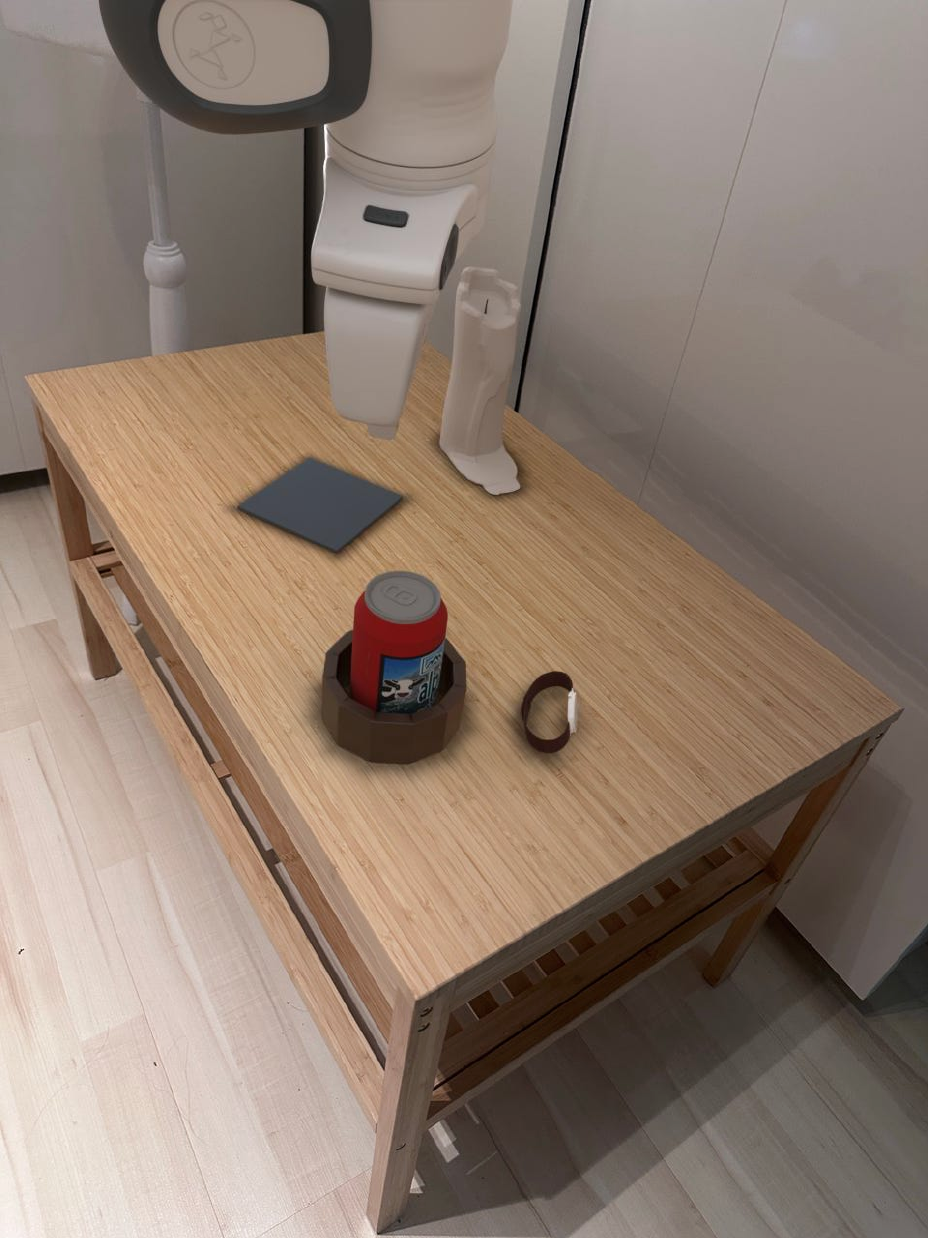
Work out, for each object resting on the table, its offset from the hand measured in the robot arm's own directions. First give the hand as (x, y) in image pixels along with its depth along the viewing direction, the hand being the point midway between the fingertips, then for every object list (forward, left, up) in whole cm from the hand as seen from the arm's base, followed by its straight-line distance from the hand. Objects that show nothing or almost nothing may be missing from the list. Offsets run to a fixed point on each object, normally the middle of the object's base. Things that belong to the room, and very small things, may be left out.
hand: (399, 384), depth 58 cm
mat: (-16, +15, -24) cm, 33 cm away
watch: (+16, +1, -24) cm, 29 cm away
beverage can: (+5, -5, -24) cm, 26 cm away
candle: (-7, +33, -24) cm, 42 cm away
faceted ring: (+5, -5, -24) cm, 25 cm away
